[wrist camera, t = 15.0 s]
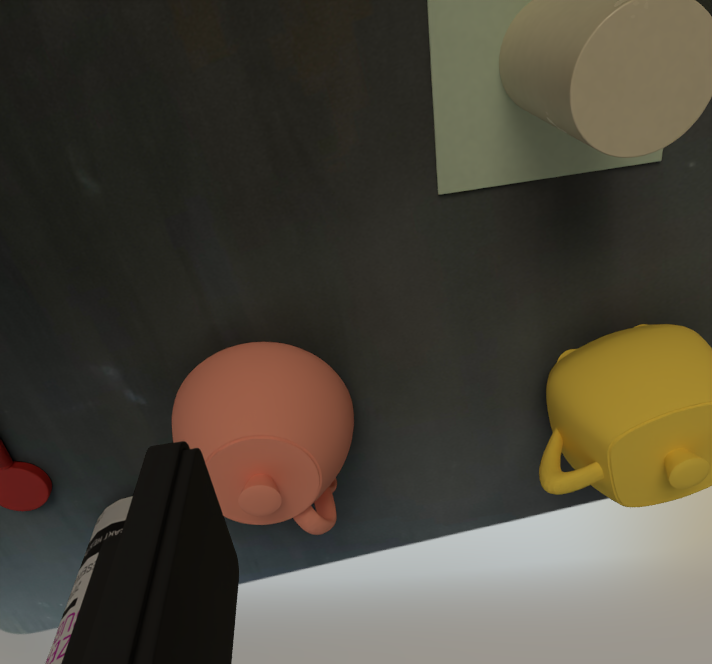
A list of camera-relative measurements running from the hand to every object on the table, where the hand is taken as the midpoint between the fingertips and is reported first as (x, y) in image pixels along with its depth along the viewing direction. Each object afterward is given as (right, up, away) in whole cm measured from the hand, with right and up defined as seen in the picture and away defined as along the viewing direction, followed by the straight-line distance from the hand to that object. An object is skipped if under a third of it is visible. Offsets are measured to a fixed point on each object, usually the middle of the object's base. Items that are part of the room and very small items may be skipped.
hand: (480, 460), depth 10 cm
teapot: (+18, -1, +36) cm, 40 cm away
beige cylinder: (+9, +18, +23) cm, 31 cm away
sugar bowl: (-8, -3, +34) cm, 35 cm away
